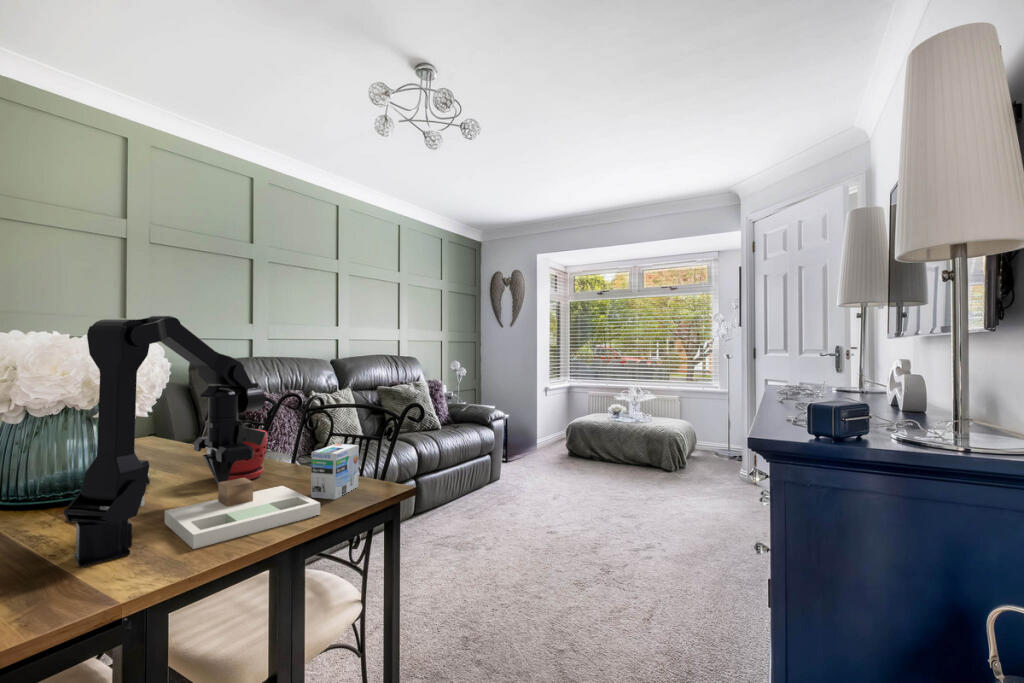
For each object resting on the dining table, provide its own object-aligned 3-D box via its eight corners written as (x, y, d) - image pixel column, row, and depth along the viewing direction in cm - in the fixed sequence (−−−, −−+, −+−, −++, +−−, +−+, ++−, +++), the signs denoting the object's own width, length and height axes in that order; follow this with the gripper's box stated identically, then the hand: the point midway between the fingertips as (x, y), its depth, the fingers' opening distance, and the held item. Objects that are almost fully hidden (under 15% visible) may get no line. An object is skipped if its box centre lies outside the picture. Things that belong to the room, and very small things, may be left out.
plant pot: (202, 478, 127) (203, 433, 127) (255, 469, 137) (256, 427, 137) (220, 488, 118) (220, 439, 118) (275, 477, 128) (275, 432, 128)
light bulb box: (335, 500, 110) (336, 453, 110) (309, 498, 111) (310, 451, 112) (359, 487, 121) (360, 444, 121) (335, 485, 122) (335, 442, 122)
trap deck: (193, 549, 83) (193, 534, 83) (164, 523, 95) (164, 510, 95) (320, 514, 101) (320, 502, 101) (282, 496, 112) (282, 485, 112)
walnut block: (226, 506, 98) (227, 487, 98) (218, 501, 101) (218, 482, 101) (252, 500, 101) (253, 481, 101) (243, 495, 105) (244, 477, 105)
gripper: (278, 416, 106) (277, 487, 106) (245, 409, 119) (244, 472, 118) (223, 422, 98) (221, 499, 98) (193, 413, 110) (192, 481, 110)
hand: (222, 486), depth 106 cm, fingers closed
